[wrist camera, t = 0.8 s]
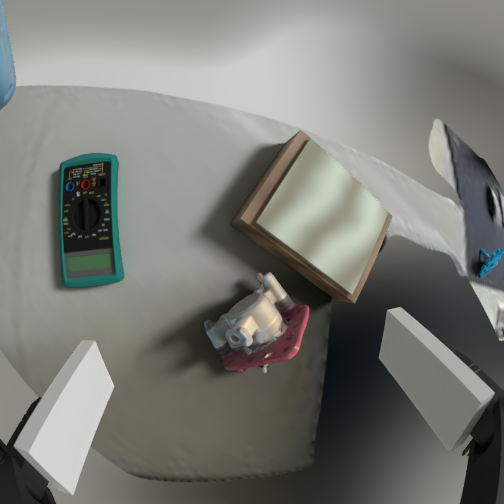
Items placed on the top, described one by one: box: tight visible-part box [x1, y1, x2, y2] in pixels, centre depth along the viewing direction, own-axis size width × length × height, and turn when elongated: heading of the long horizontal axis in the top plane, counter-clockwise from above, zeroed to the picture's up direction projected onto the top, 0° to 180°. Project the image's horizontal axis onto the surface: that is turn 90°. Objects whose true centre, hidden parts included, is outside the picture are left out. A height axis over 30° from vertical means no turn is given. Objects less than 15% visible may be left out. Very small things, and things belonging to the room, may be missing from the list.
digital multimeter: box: [59, 153, 124, 287], centre depth 27 cm, size 7×15×3 cm, turn 7°
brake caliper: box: [204, 272, 309, 373], centre depth 30 cm, size 11×11×12 cm
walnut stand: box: [230, 130, 392, 303], centre depth 34 cm, size 18×14×5 cm
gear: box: [479, 248, 503, 277], centre depth 53 cm, size 11×6×10 cm
